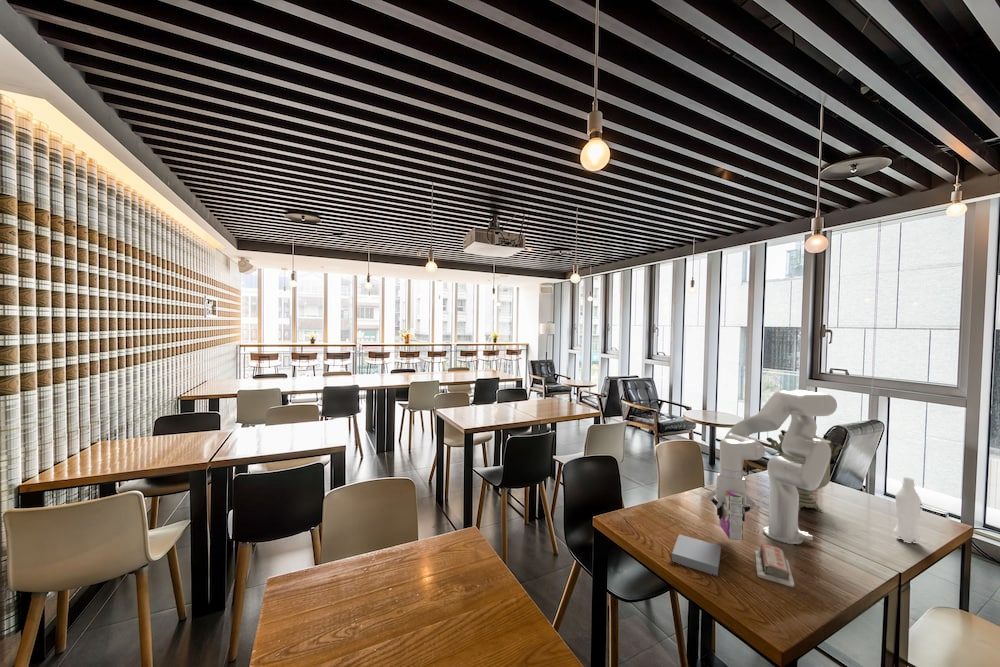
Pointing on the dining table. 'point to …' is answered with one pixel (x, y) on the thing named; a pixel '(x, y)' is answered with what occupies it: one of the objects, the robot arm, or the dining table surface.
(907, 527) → the water bottle
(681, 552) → the base plinth
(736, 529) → the candy bar box
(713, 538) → the dining table surface
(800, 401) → the robot arm
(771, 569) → the packaged product
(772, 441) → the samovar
